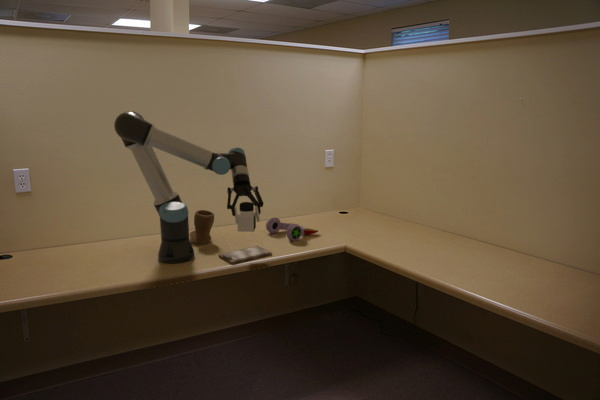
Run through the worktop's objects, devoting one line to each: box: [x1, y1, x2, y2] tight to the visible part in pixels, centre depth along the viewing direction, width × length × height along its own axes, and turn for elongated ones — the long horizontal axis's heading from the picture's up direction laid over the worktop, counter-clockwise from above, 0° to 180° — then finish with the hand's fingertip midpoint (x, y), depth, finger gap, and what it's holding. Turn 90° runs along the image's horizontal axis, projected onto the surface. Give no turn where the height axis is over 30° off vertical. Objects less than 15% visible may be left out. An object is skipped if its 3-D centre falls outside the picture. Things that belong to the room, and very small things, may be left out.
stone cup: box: [189, 209, 215, 244], centre depth 217 cm, size 15×12×15 cm
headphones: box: [265, 216, 319, 242], centre depth 229 cm, size 20×10×20 cm
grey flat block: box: [217, 245, 273, 265], centre depth 197 cm, size 20×12×2 cm, turn 128°
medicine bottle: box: [237, 201, 257, 233], centre depth 194 cm, size 7×7×12 cm
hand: (247, 220), depth 191 cm, fingers closed on medicine bottle, 8 cm apart
